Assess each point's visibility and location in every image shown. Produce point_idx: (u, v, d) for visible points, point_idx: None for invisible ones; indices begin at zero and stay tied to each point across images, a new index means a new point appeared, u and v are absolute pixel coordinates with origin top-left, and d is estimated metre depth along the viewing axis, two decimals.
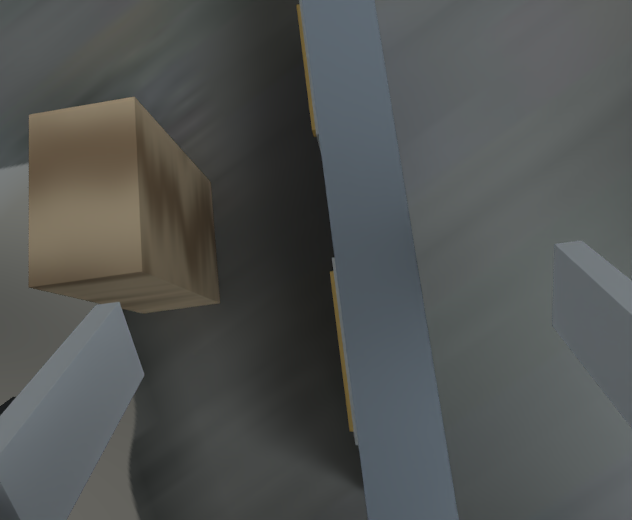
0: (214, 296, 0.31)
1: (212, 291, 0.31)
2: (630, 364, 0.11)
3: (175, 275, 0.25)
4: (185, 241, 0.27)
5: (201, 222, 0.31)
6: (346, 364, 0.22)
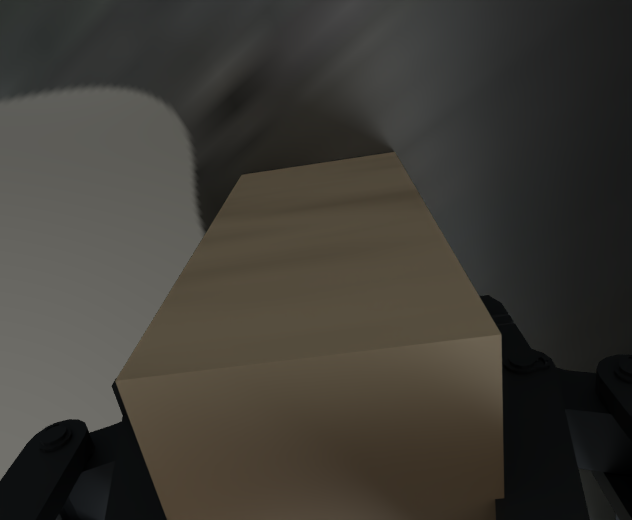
0: None
1: None
2: None
3: None
4: None
5: None
6: None
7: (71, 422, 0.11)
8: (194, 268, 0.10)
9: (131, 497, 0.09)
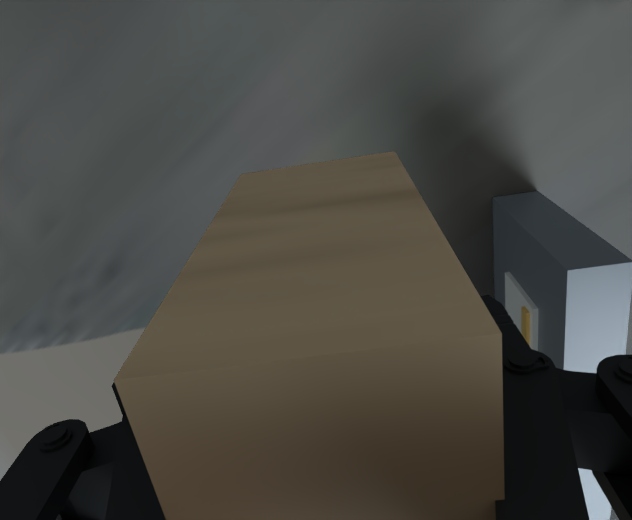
0: None
1: None
2: None
3: None
4: None
5: None
6: None
7: (71, 422, 0.11)
8: (194, 267, 0.10)
9: (131, 497, 0.09)
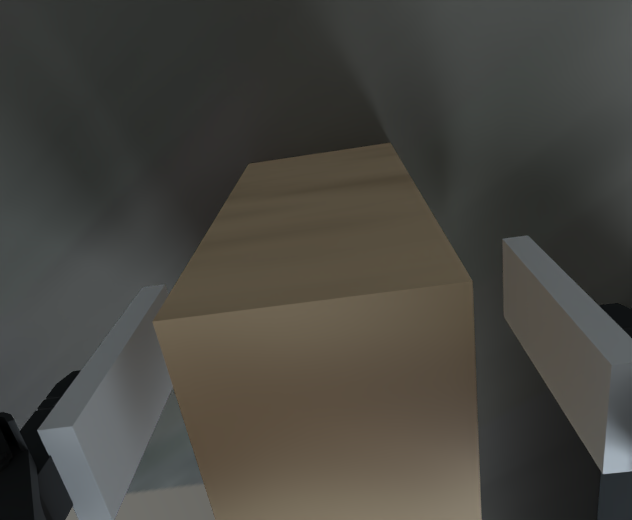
0: None
1: None
2: (558, 349, 0.12)
3: None
4: None
5: None
6: None
7: None
8: (212, 239, 0.11)
9: None
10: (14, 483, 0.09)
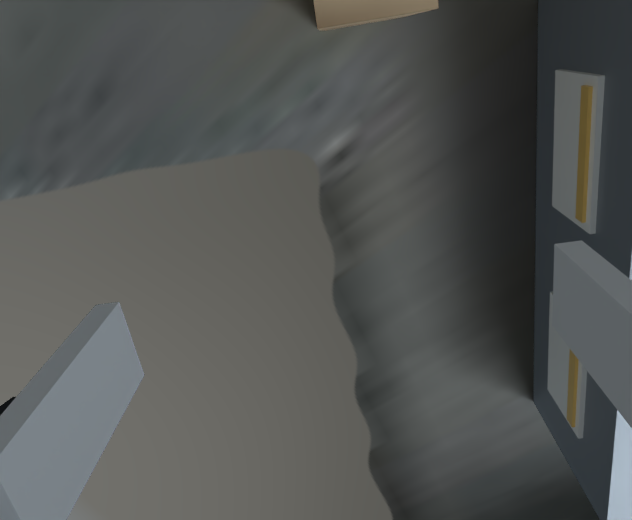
0: None
1: None
2: (630, 364, 0.11)
3: None
4: None
5: None
6: (581, 396, 0.32)
7: None
8: None
9: None
10: None
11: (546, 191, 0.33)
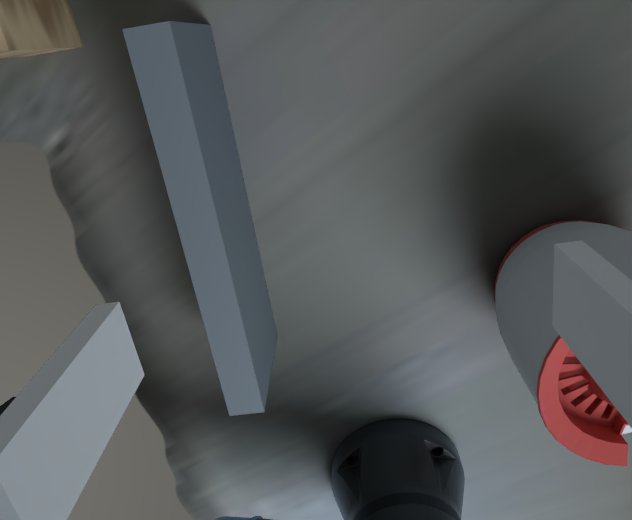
0: (75, 44, 0.42)
1: (73, 40, 0.42)
2: (630, 364, 0.11)
3: (36, 41, 0.37)
4: (37, 9, 0.37)
5: None
6: None
7: None
8: None
9: None
10: None
11: None
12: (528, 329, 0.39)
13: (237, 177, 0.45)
